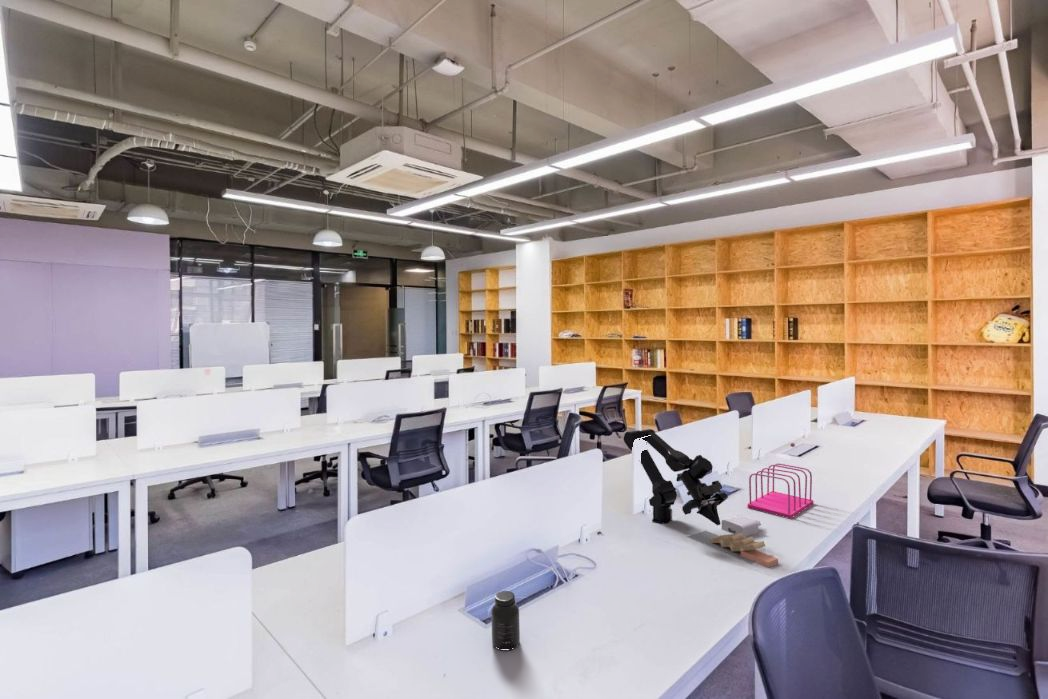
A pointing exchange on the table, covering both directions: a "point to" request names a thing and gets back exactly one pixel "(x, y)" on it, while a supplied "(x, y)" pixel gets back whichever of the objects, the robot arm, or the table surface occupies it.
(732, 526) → the charger
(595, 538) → the table surface
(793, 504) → the file sorter
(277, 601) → the table surface
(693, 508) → the robot arm
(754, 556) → the domino
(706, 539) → the domino mat
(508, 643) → the supplement bottle
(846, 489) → the table surface
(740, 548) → the domino
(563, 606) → the table surface
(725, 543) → the domino
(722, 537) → the domino
